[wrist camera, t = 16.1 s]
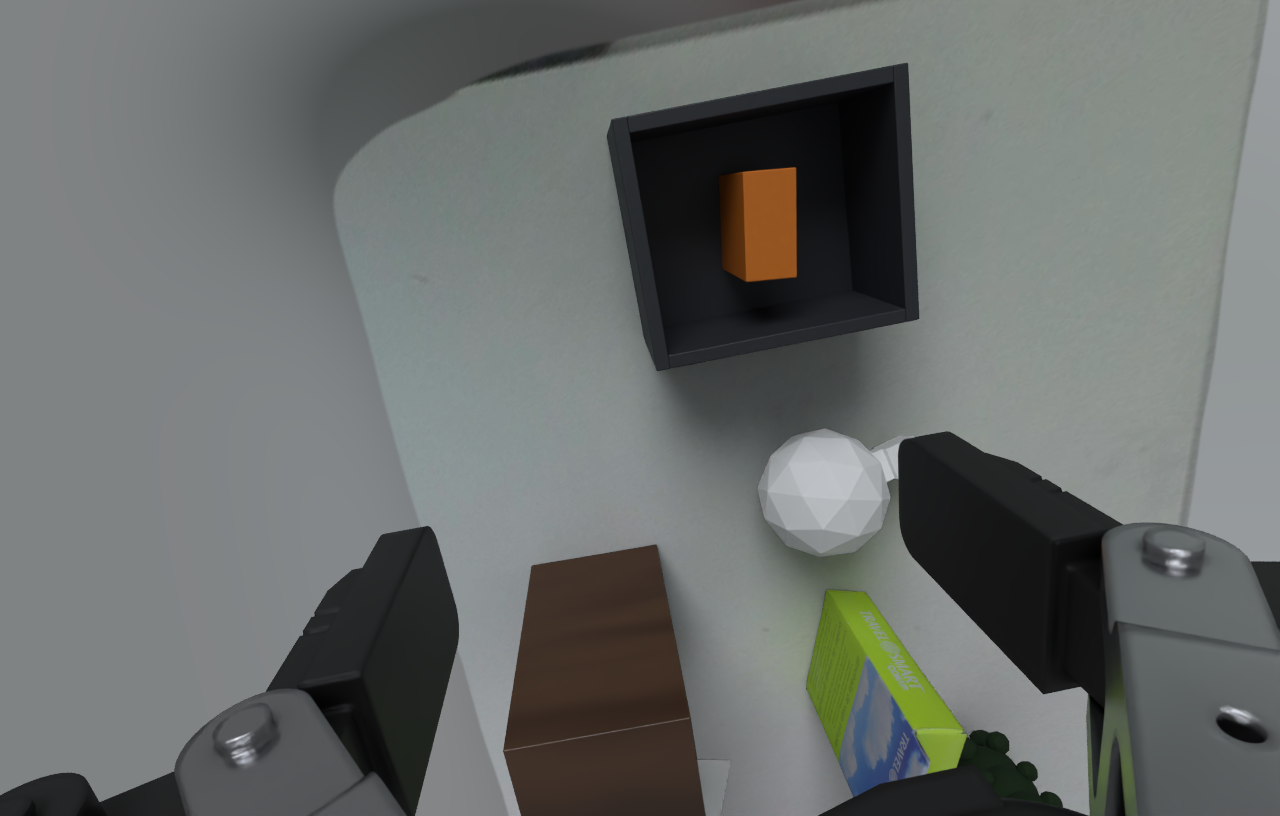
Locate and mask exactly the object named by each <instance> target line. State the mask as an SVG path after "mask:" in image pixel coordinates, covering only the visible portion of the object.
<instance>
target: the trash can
mask: <svg viewBox="0 0 1280 816" xmlns="http://www.w3.org/2000/svg"><path fill="white" fill-rule="evenodd" d="M607 139H608V145H609V150H610V156H611V161H612V167H613V172H614V177H615V183H616V188H617V194H618V199H619V205H620V210H621V215H622V221H623V226H624V232H625V237H626V242H627V248H628V253H629V259H630V264H631V270H632V275H633V280H634V286H635V291H636V297H637V302H638V307H639V313H640V318H641V324H642V329H643V335H644V339H645V342H646V344H647V347H648V349H649V352H650V354H651V357H652V360H653V362H654V365H655V367H656V370H657V371H661V370H666V369H670V368H675V367H680V366H685V365H691V364H696V363H701V362H706V361H711V360H716V359H721V358H726V357H731V356H736V355H741V354H746V353H751V352H756V351H761V350H766V349H771V348H776V347H782V346H787V345H792V344H797V343H802V342H807V341H812V340H817V339H822V338H827V337H832V336H837V335H842V334H847V333H852V332H857V331H862V330H868V329H873V328H878V327H883V326H888V325H893V324H898V323H903V322H908V321H913V320H918V319H919V302H918V280H917V257H916V234H915V211H914V188H913V165H912V142H911V119H910V96H909V74H908V63H903V64H898V65H893V66H887V67H882V68H877V69H872V70H866V71H861V72H856V73H851V74H846V75H840V76H835V77H830V78H825V79H819V80H814V81H809V82H804V83H799V84H793V85H788V86H783V87H778V88H773V89H767V90H762V91H757V92H752V93H747V94H741V95H736V96H731V97H726V98H720V99H715V100H710V101H705V102H700V103H694V104H689V105H684V106H679V107H674V108H668V109H663V110H658V111H653V112H648V113H642V114H637V115H632V116H627V117H621V118H616V119H612V120H611V123H610V127H609V130H608V133H607ZM793 167H795V168H796V206H797V277H796V278H786V279H775V280H764V281H754V282H746V281H744V280H742V279H740V278H738V277H736V276H735V275H733V274H731V273H729V272H727V271H725V270H724V269H723V268H722V246H721V221H720V197H719V176H720V175H726V174H732V173H739V172H747V171H758V170H770V169H781V168H793Z"/></svg>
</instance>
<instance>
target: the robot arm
mask: <svg viewBox="0 0 1280 816" xmlns="http://www.w3.org/2000/svg"><path fill="white" fill-rule="evenodd" d="M898 482H899V520H900V529H901V533H902V537H903V540H904V543H905V545H906V547H907V549H908V551H909V553H910V554H911V556H912V557H913V558H914V559H915V560H916V561H917V562H918V563H919V564H920V566H921V567H922V568H923V569H924V570H925V571H926V572H927V573H928V574H929V575H930V576H931V577H932V578H933V579H934V580H935V581H936V582H937V583H938V584H939V585H940V586H941V588H942V589H943V590H944V591H945V592H946V593H947V594H948V595H949V596H950V597H951V598H952V599H953V600H954V601H955V602H956V603H957V604H958V605H959V606H960V607H961V608H962V610H963V611H964V612H965V613H966V614H967V615H968V616H969V617H970V618H971V619H972V620H973V621H974V622H975V623H976V624H977V625H978V626H979V627H980V628H981V629H982V630H983V632H984V633H985V634H986V635H987V636H988V637H989V638H990V639H991V640H992V641H993V642H994V643H995V644H996V645H997V646H998V647H999V648H1000V649H1001V650H1002V651H1003V652H1004V654H1005V655H1006V656H1007V657H1008V658H1009V659H1010V660H1011V661H1012V662H1013V663H1014V664H1015V665H1016V666H1017V667H1018V668H1019V669H1020V670H1021V671H1022V672H1023V673H1024V675H1025V676H1026V677H1027V678H1028V679H1029V680H1030V681H1031V682H1032V683H1033V684H1034V685H1035V686H1036V687H1037V688H1038V689H1039V690H1040V691H1041V692H1042V693H1043V694H1047V693H1052V692H1057V691H1062V690H1067V689H1071V688H1076V687H1082V688H1083V689H1084V690H1085V691H1086V692H1087V693H1088V702H1087V714H1086V723H1087V750H1088V778H1089V806H1090V816H1280V562H1250V560H1249V559H1248V557H1247V556H1246V555H1245V554H1244V553H1243V552H1242V551H1241V550H1240V549H1238V548H1237V547H1236V546H1234V545H1232V544H1230V543H1229V542H1227V541H1225V540H1223V539H1221V538H1218V537H1216V536H1214V535H1211V534H1209V533H1205V532H1203V531H1199V530H1196V529H1192V528H1188V527H1183V526H1178V525H1172V524H1164V523H1131V524H1126V525H1123V524H1121V523H1119V522H1118V521H1116V520H1114V519H1113V518H1111V517H1109V516H1108V515H1106V514H1104V513H1102V512H1101V511H1099V510H1097V509H1096V508H1094V507H1092V506H1091V505H1089V504H1087V503H1086V502H1084V501H1082V500H1080V499H1079V498H1077V497H1075V496H1074V495H1072V494H1070V493H1069V492H1067V491H1065V492H1062V490H1061V488H1060V487H1058V486H1057V485H1055V484H1053V483H1052V482H1050V481H1048V480H1047V479H1045V480H1042V477H1041V476H1040V475H1038V474H1036V473H1035V472H1033V471H1031V470H1030V469H1028V468H1026V467H1025V466H1023V465H1021V464H1019V463H1018V462H1015V461H1011V460H1008V459H1005V458H1001V457H998V456H995V455H991V454H988V453H984V452H982V451H981V450H979V449H978V448H976V447H974V446H973V445H971V444H969V443H968V442H966V441H964V440H963V439H961V438H960V437H958V436H956V435H955V434H953V433H951V432H947V431H946V432H941V433H935V434H930V435H924V436H919V437H913V438H908V439H904V440H902V442H901V443H900V445H899V449H898ZM458 639H459V622H458V614H457V608H456V604H455V601H454V597H453V594H452V590H451V587H450V583H449V580H448V576H447V573H446V569H445V566H444V562H443V559H442V555H441V552H440V548H439V545H438V542H437V538H436V536H435V533H434V532H433V530H432V529H431V528H430V527H429V526H425V527H420V528H415V529H409V530H403V531H398V532H393V533H387V534H383V535H381V536H380V538H379V540H378V541H377V543H376V545H375V547H374V548H373V550H372V552H371V554H370V556H369V557H368V559H367V561H366V563H365V564H364V566H363V568H360V569H354V570H351V571H350V572H349V573H348V574H347V575H346V576H345V577H343V578H342V579H341V580H340V581H339V582H337V583H336V584H335V585H334V586H333V587H332V588H331V589H329V590H328V591H327V593H326V595H325V596H324V598H323V599H322V601H321V603H320V604H319V606H318V607H317V609H316V611H315V617H311V619H310V621H309V622H308V624H307V626H306V627H305V629H304V630H303V636H300V637H299V638H298V640H297V642H296V643H295V645H294V646H293V648H292V650H291V651H290V653H289V655H288V656H287V658H286V659H285V661H284V663H283V664H282V666H281V667H280V669H279V671H278V672H277V674H276V676H275V677H274V679H273V680H272V682H271V684H270V685H269V687H268V689H267V691H266V692H265V693H261V694H258V695H255V696H253V697H251V698H248V699H245V700H243V701H241V702H240V703H237V704H235V705H233V706H232V707H230V708H228V709H227V710H225V711H223V712H222V713H220V714H219V715H217V716H216V717H215V718H213V719H212V720H210V721H209V722H208V723H207V724H206V725H204V726H203V727H202V728H201V729H200V730H199V731H198V732H197V733H196V734H195V735H194V736H193V737H192V738H191V739H190V740H189V741H188V743H187V744H186V745H185V747H184V748H183V750H182V751H181V753H180V755H179V757H178V759H177V761H176V765H175V769H174V772H172V773H169V774H167V775H165V776H162V777H160V778H157V779H155V780H153V781H150V782H148V783H145V784H143V785H140V786H138V787H136V788H133V789H131V790H128V791H126V792H123V793H121V794H119V795H116V796H114V797H111V798H109V799H107V800H104V801H102V802H99V801H98V799H97V797H96V796H95V794H94V792H93V790H92V788H91V787H90V785H89V783H88V781H87V780H86V779H85V778H84V777H83V776H81V775H80V774H76V773H59V774H54V775H49V776H46V777H42V778H39V779H36V780H33V781H31V782H28V783H25V784H23V785H21V786H19V787H16V788H14V789H12V790H10V791H8V792H6V793H4V794H2V795H0V816H415V813H416V809H417V805H418V801H419V797H420V793H421V789H422V786H423V782H424V778H425V773H426V770H427V766H428V762H429V757H430V754H431V750H432V746H433V742H434V738H435V734H436V730H437V726H438V722H439V718H440V714H441V710H442V706H443V701H444V697H445V694H446V690H447V686H448V682H449V678H450V674H451V669H452V666H453V662H454V658H455V654H456V650H457V646H458ZM818 816H1088V815H1085V814H1082V813H1078V812H1075V811H1072V810H1069V809H1066V808H1062V807H1058V806H1053V805H1049V804H1045V803H1041V802H1035V801H1028V800H1021V799H1014V798H999V796H998V795H997V793H996V792H995V791H994V789H993V788H992V786H991V785H990V784H989V782H988V781H987V780H986V778H985V777H984V775H983V774H982V773H981V771H980V770H979V768H978V767H977V766H976V764H971V765H967V766H962V767H957V768H952V769H948V770H943V771H938V772H933V773H929V774H924V775H919V776H914V777H910V778H905V779H900V780H896V781H891V782H886V783H881V784H879V785H877V786H875V787H873V788H871V789H869V790H867V791H865V792H863V793H861V794H859V795H857V796H855V797H853V798H852V799H850V800H848V801H846V802H844V803H842V804H840V805H838V806H836V807H834V808H832V809H830V810H828V811H826V812H824V813H822V814H820V815H818Z"/></svg>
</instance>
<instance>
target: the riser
mask: <svg viewBox="0 0 1280 816" xmlns="http://www.w3.org/2000/svg"><path fill="white" fill-rule="evenodd" d="M503 752H504V756H505V759H506V763H507V766H508V770H509V774H510V777H511V781H512V784H513V788H514V792H515V795H516V799H517V803H518V806H519V810H520V813H521V816H706V814H705V807H704V801H703V794H702V788H701V781H700V775H699V768H698V762H697V755H696V749H695V742H694V736H693V729H692V723H691V717H690V712H689V706H688V701H687V696H686V691H685V686H684V681H683V676H682V671H681V666H680V661H679V655H678V650H677V645H676V640H675V635H674V630H673V625H672V620H671V615H670V610H669V604H668V599H667V594H666V589H665V584H664V579H663V574H662V569H661V564H660V558H659V553H658V548H657V545H651V546H645V547H639V548H634V549H628V550H622V551H616V552H610V553H604V554H598V555H592V556H586V557H581V558H575V559H569V560H563V561H557V562H551V563H545V564H539V565H533V566H532V567H531V574H530V580H529V587H528V593H527V600H526V606H525V613H524V619H523V626H522V632H521V639H520V645H519V652H518V658H517V665H516V671H515V678H514V685H513V691H512V698H511V704H510V711H509V717H508V724H507V730H506V737H505V743H504V750H503Z"/></svg>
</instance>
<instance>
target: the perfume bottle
mask: <svg viewBox="0 0 1280 816" xmlns="http://www.w3.org/2000/svg"><path fill="white" fill-rule="evenodd" d="M913 437H915V436H898V437H895V438H893V439H891V440H889V441H886V442H884V443H882V444H880V445H878V446H875V447H873V448H872V450H870V451H869V450H868V449H867V448H866V447H865V446H864V445H863V444H862V443H861V442H860V441H859V440H857V439H855V438H852V437H849V436H846V435H843V434H840V433H838V432H835V431H832V430H829V429H826V428H824V429H820V430H816V431H811V432H807V433H803V434H798V435H794V436H792V437H790V438H789V439H788V440H787V441H786V442H785V443H784V444H783V445H782V446H781V447H779V448H778V449H777V450H776V451H775V452H774V453H773V454H772V455H771V456H770V458H769V460H768V463H767V465H766V467H765V470H764V472H763V475H762V477H761V480H760V482H759V484H758V487H757V489H758V493H759V498H760V502H761V506H762V511H763V515H764V519H765V520H766V521H767V523H768V524H769V525H770V526H771V528H772V529H773V530H774V531H775V532H776V534H777V535H778V536H779V537H780V539H781V540H782V541H783V542H784V544H785V545H786V546H788V547H791V548H794V549H797V550H800V551H803V552H806V553H809V554H812V555H814V556H817V557H824V556H832V555H839V554H847V553H854V552H856V551H857V550H858V549H859V548H860V547H861V546H862V545H864V544H865V543H866V542H867V541H868V540H869V539H870V538H871V537H873V536H874V535H875V534H876V533H877V532H878V531H879V530H881V528H882V525H883V521H884V518H885V515H886V511H887V508H888V505H889V502H890V498H891V497H890V493H889V490H888V486H887V483H886V482H888V481H890V480H893V479H898V449H899V445H900V443H901V442H902V440H904V439H908V438H913Z"/></svg>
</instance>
